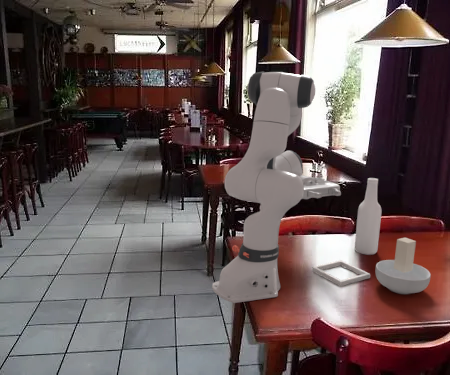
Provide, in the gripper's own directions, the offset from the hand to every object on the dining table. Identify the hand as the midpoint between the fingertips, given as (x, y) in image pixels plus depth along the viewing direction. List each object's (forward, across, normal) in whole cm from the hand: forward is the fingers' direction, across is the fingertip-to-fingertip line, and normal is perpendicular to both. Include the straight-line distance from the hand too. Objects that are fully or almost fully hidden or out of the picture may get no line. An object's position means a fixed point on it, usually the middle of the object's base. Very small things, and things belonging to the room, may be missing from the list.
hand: (329, 194), depth 159 cm
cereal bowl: (+29, +7, +26) cm, 40 cm away
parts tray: (+11, -2, +26) cm, 28 cm away
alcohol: (-1, +23, +26) cm, 35 cm away
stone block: (+29, +7, +19) cm, 35 cm away
